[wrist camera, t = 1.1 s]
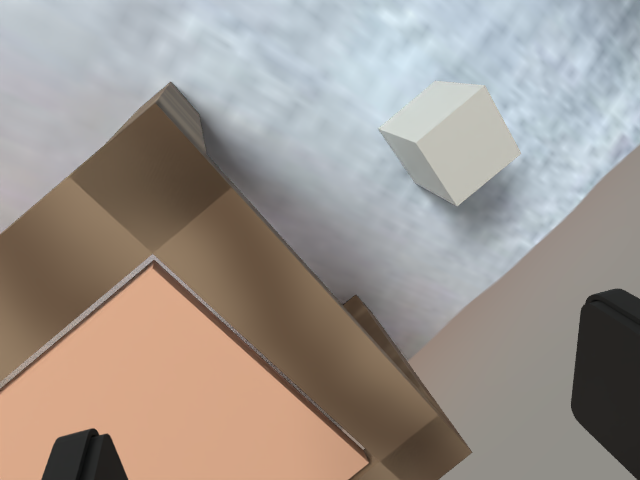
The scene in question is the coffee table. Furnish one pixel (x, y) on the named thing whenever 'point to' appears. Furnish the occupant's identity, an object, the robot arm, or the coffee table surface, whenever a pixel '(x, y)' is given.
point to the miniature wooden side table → (214, 284)
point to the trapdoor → (168, 397)
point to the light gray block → (451, 139)
